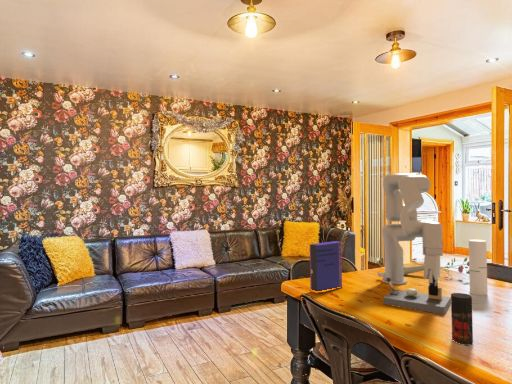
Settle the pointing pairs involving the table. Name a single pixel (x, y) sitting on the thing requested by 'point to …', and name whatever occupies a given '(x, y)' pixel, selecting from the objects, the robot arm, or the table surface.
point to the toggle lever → (390, 283)
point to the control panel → (417, 301)
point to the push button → (411, 291)
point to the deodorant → (461, 318)
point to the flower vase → (421, 268)
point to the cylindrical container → (478, 267)
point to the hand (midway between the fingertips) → (433, 294)
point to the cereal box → (325, 265)
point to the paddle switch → (437, 295)
